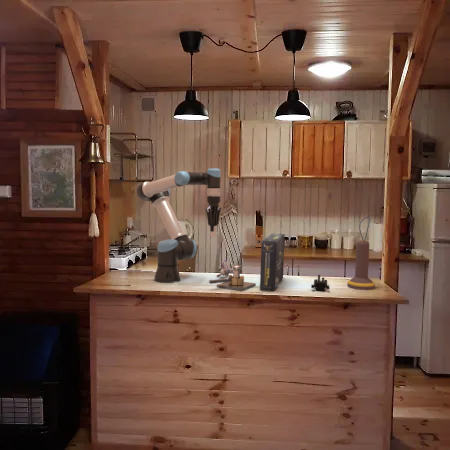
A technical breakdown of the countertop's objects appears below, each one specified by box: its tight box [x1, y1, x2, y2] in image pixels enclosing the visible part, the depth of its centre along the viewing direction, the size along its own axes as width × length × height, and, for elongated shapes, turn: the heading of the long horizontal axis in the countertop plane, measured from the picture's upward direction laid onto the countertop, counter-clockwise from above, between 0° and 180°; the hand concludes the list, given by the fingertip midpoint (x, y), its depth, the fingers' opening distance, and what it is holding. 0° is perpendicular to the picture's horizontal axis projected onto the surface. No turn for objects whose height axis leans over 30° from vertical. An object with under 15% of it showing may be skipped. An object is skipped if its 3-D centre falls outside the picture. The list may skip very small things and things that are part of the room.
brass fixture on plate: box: [216, 264, 257, 292], centre depth 267 cm, size 16×16×12 cm
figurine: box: [215, 259, 233, 278], centre depth 295 cm, size 12×9×15 cm
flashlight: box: [347, 216, 376, 291], centre depth 271 cm, size 15×40×15 cm
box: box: [259, 233, 286, 292], centre depth 274 cm, size 35×9×28 cm, turn 166°
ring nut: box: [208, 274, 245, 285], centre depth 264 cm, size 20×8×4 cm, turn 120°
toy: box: [310, 274, 330, 293], centre depth 274 cm, size 10×5×30 cm
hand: (213, 237), depth 276 cm, fingers closed
